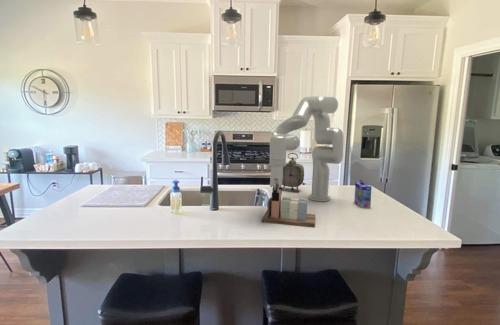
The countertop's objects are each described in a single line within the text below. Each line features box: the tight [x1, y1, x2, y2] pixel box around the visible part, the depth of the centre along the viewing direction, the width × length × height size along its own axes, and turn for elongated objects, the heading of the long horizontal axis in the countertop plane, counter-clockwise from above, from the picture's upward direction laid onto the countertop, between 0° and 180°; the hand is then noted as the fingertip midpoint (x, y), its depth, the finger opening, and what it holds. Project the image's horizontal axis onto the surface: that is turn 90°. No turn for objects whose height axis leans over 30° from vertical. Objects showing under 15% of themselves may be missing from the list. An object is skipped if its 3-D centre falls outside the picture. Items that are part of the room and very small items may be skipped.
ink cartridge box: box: [353, 179, 372, 209], centre depth 163 cm, size 10×6×14 cm, turn 3°
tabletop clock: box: [282, 152, 305, 193], centre depth 193 cm, size 14×9×25 cm, turn 62°
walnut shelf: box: [261, 196, 316, 228], centre depth 139 cm, size 13×24×10 cm, turn 77°
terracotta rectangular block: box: [271, 189, 282, 218], centre depth 141 cm, size 7×4×12 cm, turn 167°
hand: (276, 197), depth 140 cm, fingers open, 9 cm apart
